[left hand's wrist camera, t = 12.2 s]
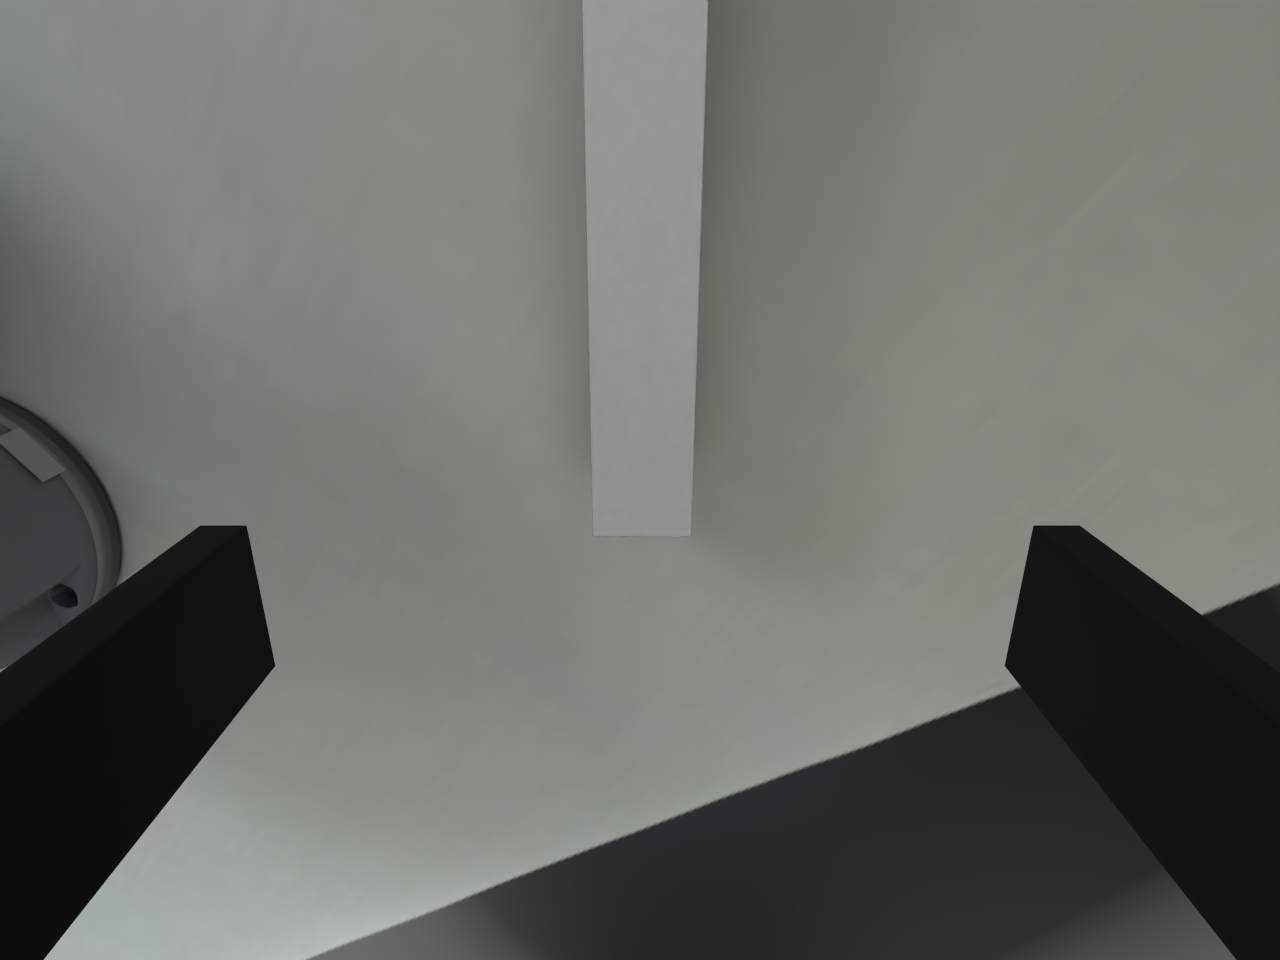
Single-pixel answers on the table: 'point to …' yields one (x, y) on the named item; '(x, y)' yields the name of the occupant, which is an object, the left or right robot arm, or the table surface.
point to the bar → (643, 257)
